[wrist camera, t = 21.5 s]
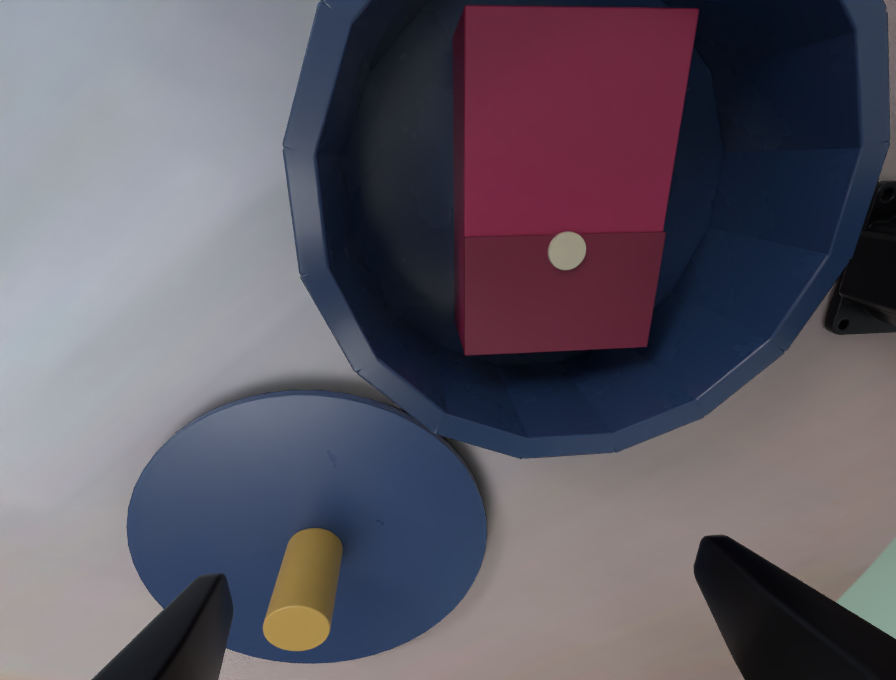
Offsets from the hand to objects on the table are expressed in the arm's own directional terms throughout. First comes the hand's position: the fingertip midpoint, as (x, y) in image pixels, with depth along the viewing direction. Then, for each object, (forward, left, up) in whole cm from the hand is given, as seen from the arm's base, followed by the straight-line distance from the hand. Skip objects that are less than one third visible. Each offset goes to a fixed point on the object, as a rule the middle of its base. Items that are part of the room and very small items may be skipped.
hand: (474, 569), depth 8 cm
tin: (-4, -6, -12) cm, 14 cm away
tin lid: (+6, +10, -11) cm, 16 cm away
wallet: (-4, -6, -11) cm, 13 cm away
